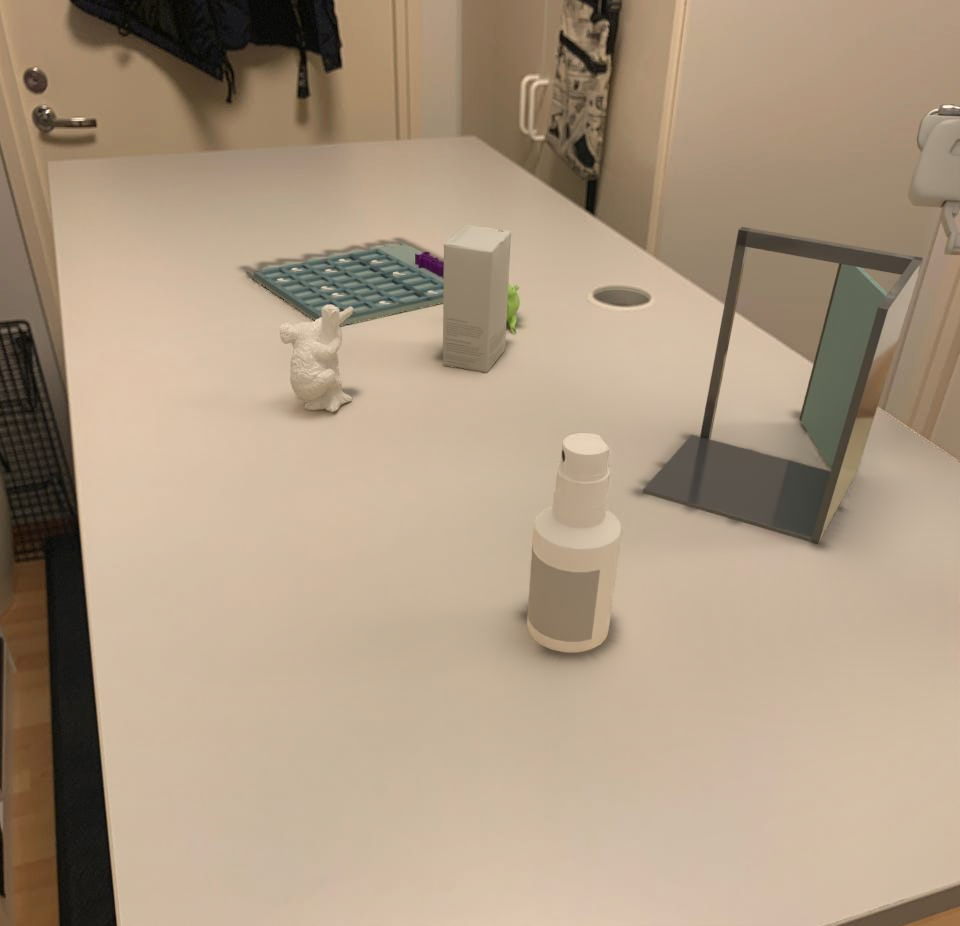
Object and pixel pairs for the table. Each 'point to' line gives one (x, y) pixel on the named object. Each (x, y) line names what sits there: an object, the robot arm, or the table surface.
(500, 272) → the cosmetic box
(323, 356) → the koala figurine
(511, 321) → the green animal figurine
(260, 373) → the table surface
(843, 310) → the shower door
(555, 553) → the spray bottle
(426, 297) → the calendar
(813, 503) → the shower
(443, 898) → the table surface
